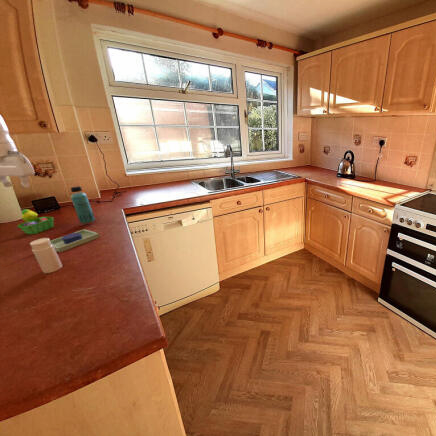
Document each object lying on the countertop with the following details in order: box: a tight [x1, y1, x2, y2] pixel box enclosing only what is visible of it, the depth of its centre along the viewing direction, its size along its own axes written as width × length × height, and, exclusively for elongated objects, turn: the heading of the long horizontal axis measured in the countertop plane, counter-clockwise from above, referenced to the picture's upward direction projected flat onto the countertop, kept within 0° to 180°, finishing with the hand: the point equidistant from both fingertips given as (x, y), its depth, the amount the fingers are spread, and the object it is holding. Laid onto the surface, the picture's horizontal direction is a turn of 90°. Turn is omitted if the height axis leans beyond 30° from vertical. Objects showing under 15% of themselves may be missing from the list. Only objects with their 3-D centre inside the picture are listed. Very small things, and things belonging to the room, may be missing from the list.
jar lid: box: [61, 232, 82, 244], centre depth 108 cm, size 6×6×3 cm
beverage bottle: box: [70, 185, 96, 224], centre depth 125 cm, size 6×7×20 cm
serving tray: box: [50, 228, 100, 253], centre depth 109 cm, size 15×12×2 cm
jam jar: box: [29, 237, 63, 274], centre depth 87 cm, size 5×5×11 cm
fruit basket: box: [17, 208, 54, 235], centre depth 120 cm, size 11×9×11 cm
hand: (17, 186), depth 97 cm, fingers open, 8 cm apart
